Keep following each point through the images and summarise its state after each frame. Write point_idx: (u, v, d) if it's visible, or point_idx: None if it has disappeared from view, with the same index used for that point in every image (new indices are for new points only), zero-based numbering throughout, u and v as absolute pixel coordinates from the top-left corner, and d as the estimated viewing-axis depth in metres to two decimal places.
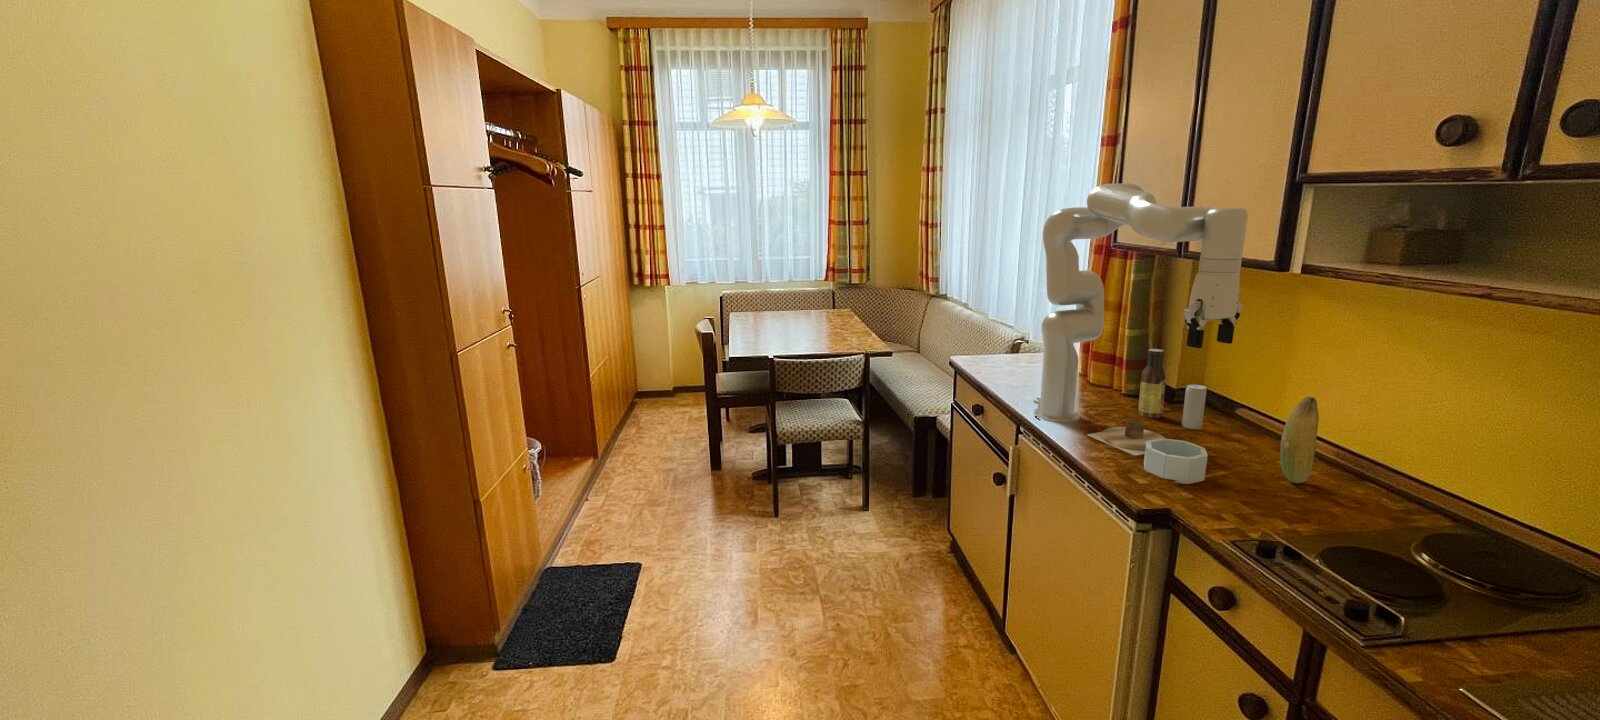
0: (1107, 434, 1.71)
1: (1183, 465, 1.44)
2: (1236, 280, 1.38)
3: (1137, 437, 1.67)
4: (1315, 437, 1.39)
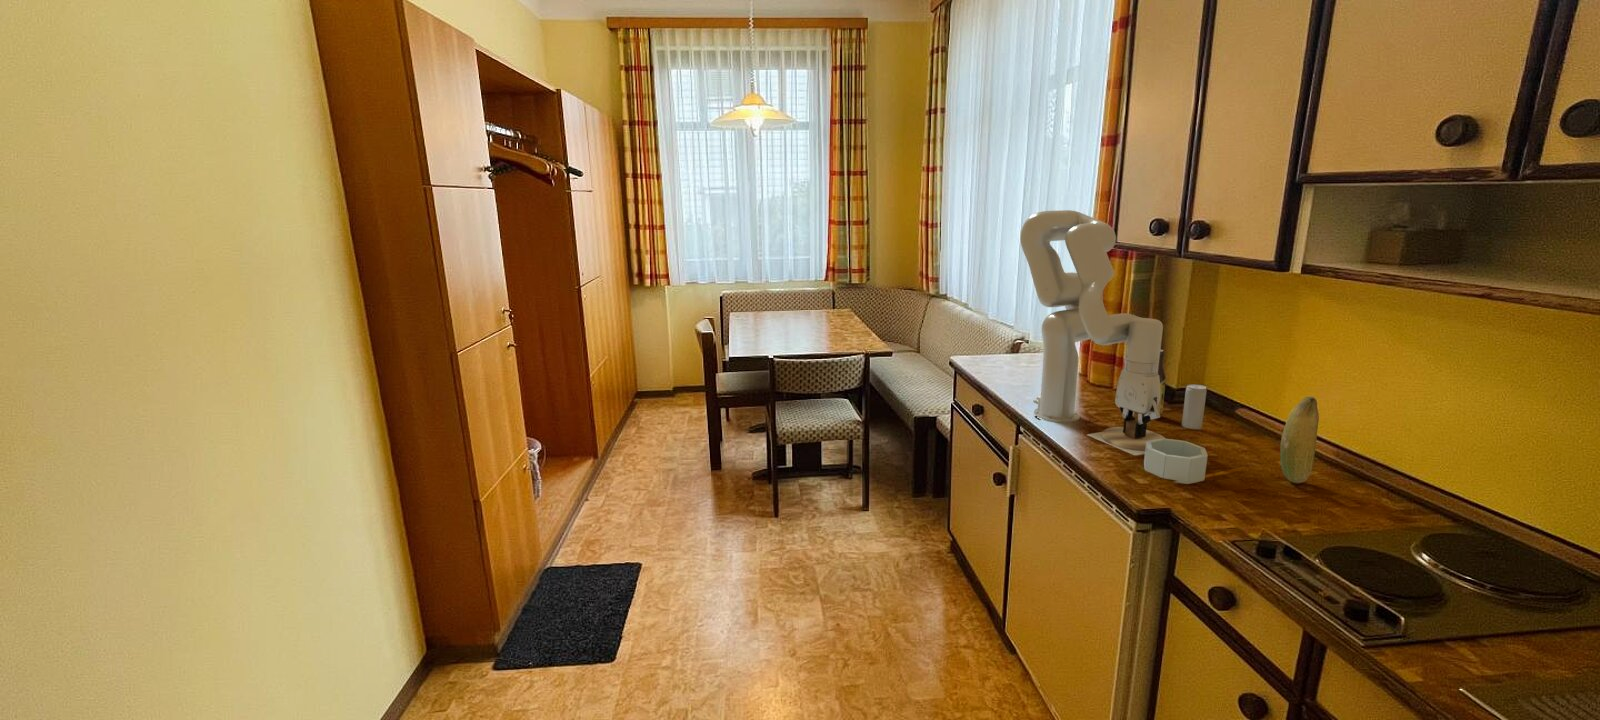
0: (1107, 434, 1.71)
1: (1183, 465, 1.44)
2: None
3: None
4: (1315, 437, 1.39)
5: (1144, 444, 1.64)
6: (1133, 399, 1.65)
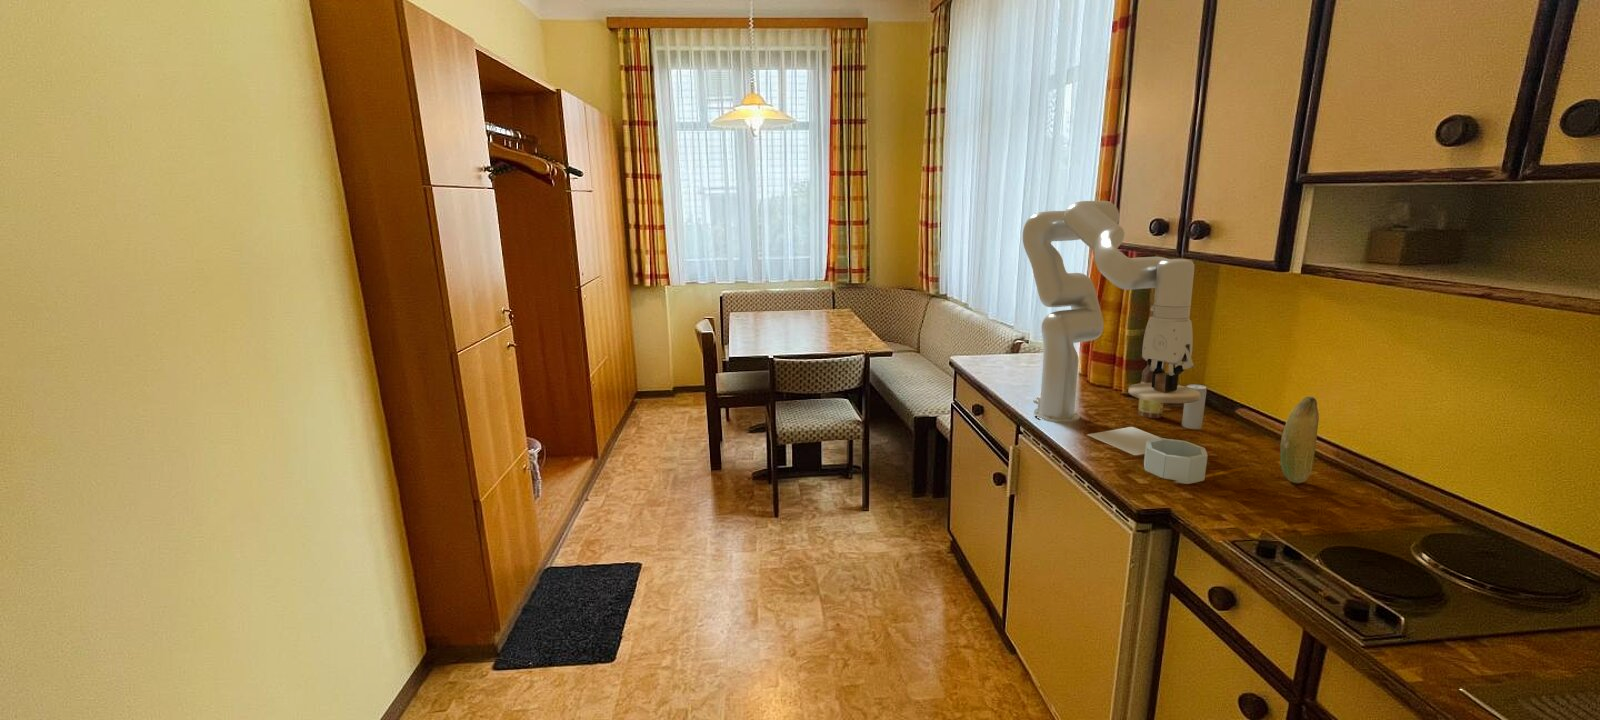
0: (1134, 389, 1.57)
1: (1183, 465, 1.44)
2: None
3: None
4: (1315, 437, 1.39)
5: (1176, 397, 1.49)
6: (1163, 348, 1.50)
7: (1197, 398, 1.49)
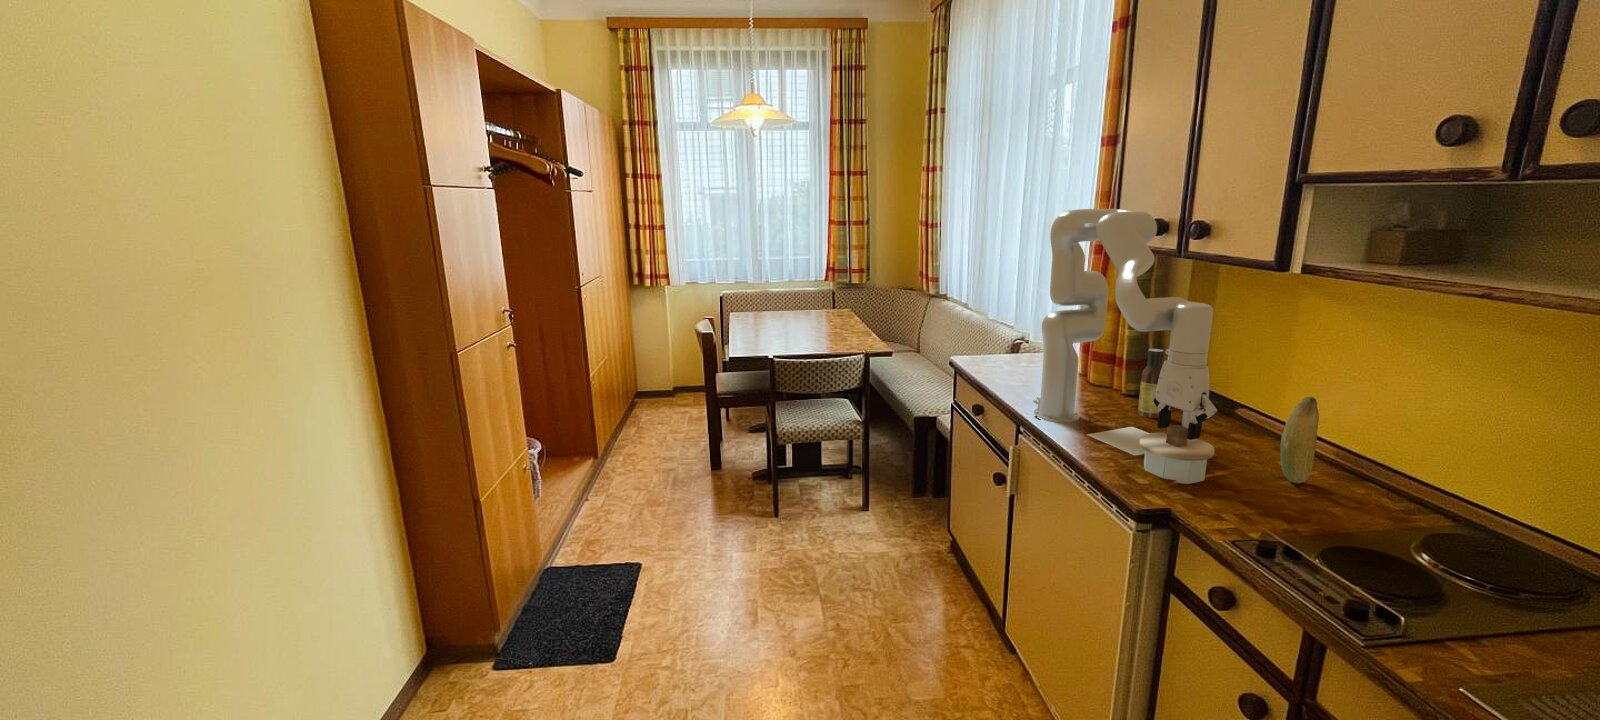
0: (1145, 441, 1.51)
1: (1183, 465, 1.44)
2: None
3: (1180, 445, 1.47)
4: (1315, 437, 1.39)
5: (1189, 453, 1.44)
6: (1178, 395, 1.44)
7: (1211, 455, 1.43)
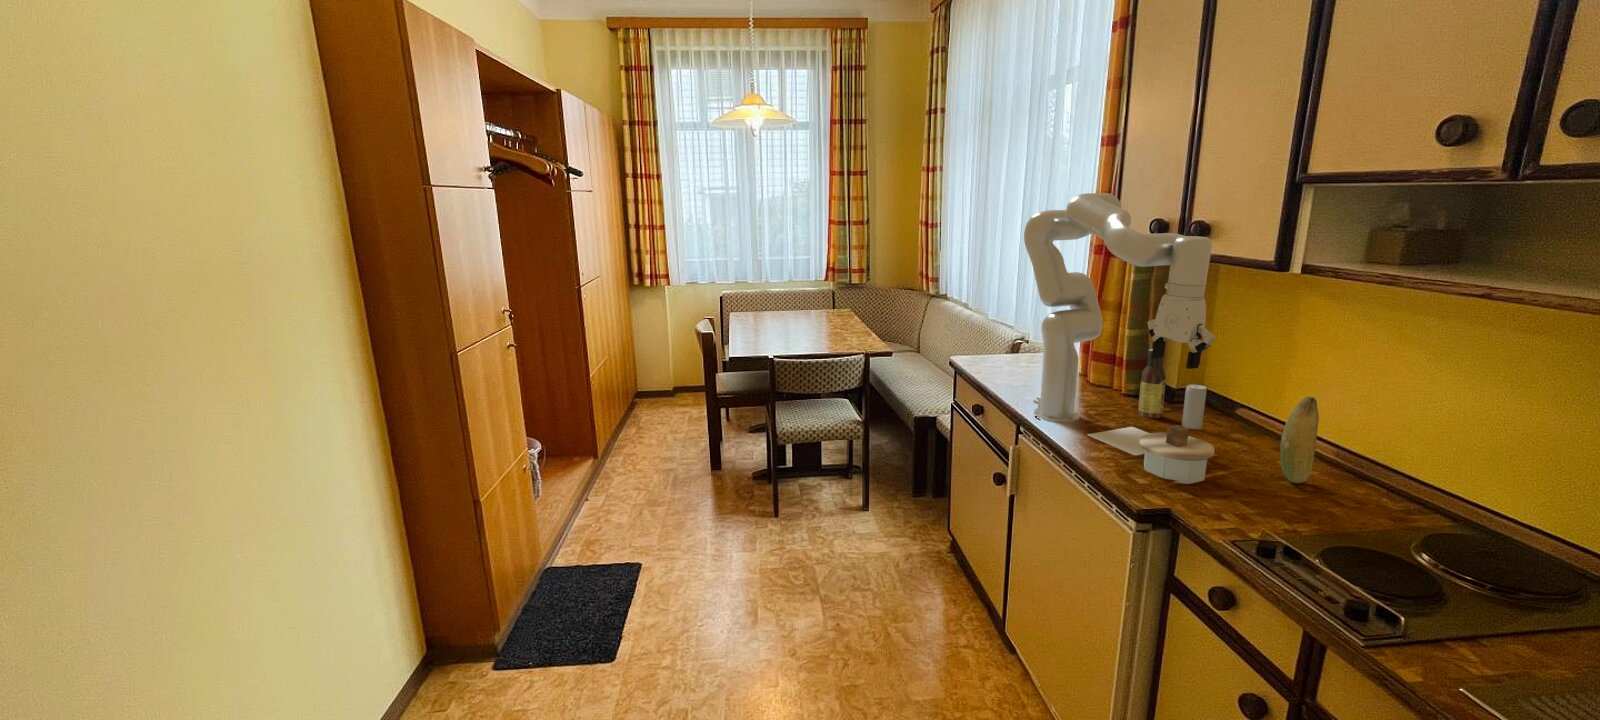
0: (1145, 441, 1.51)
1: (1183, 465, 1.44)
2: None
3: (1180, 445, 1.47)
4: (1315, 437, 1.39)
5: (1189, 453, 1.44)
6: (1175, 327, 1.49)
7: (1211, 455, 1.43)
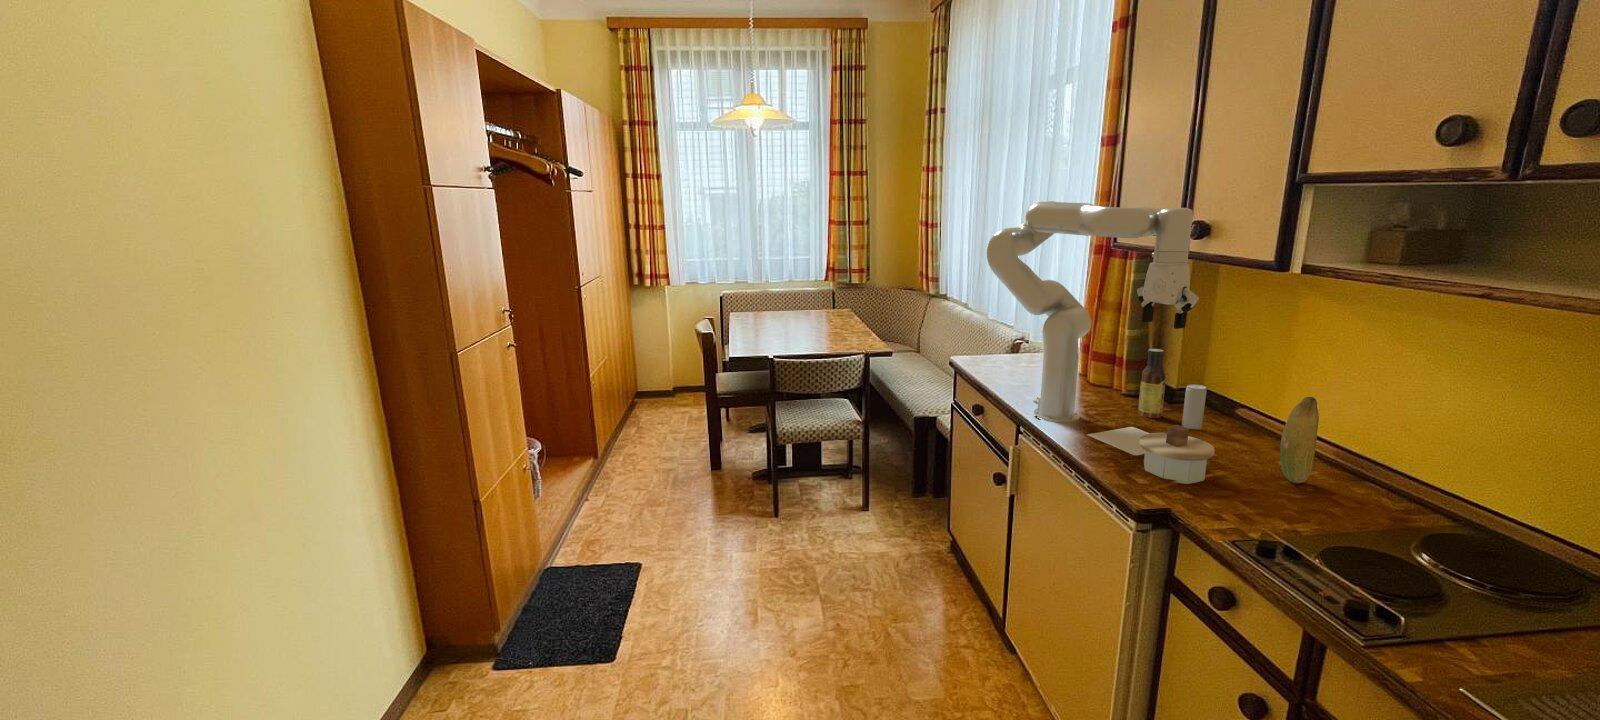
0: (1145, 441, 1.51)
1: (1183, 465, 1.44)
2: None
3: (1180, 445, 1.47)
4: (1315, 437, 1.39)
5: (1189, 453, 1.44)
6: (1162, 291, 1.63)
7: (1211, 455, 1.43)
